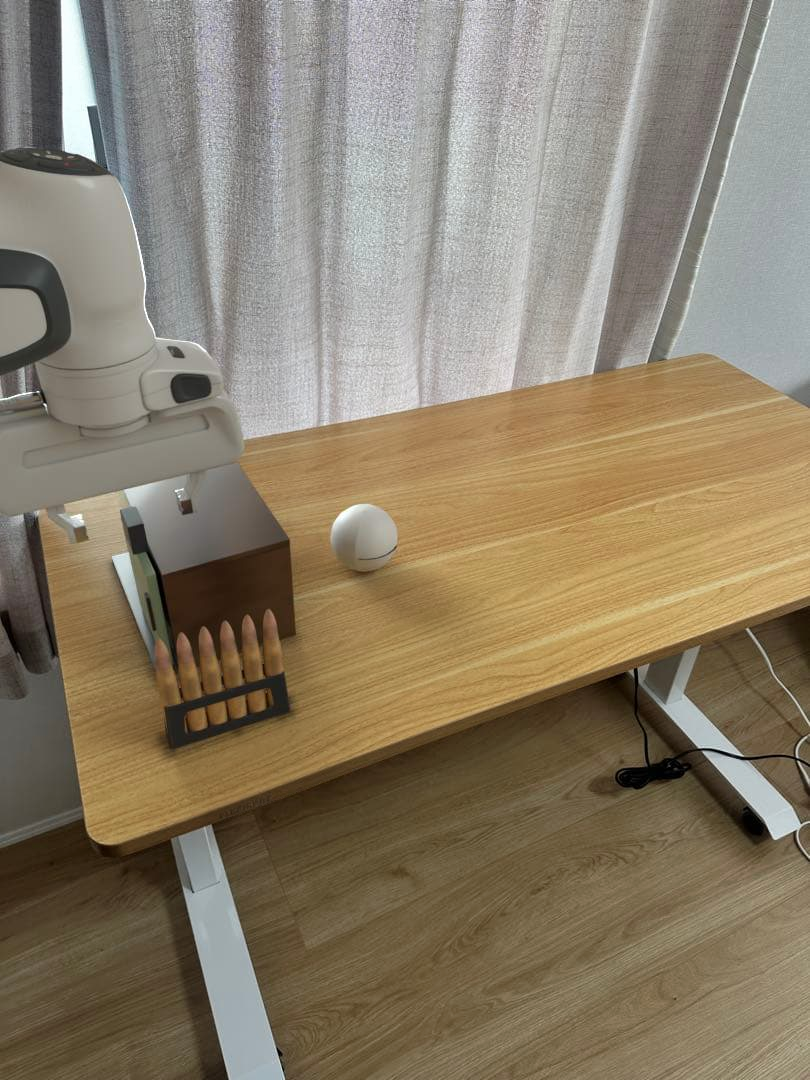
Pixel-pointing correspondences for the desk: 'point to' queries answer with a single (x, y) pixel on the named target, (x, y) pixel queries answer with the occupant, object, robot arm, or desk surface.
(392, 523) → the white sphere
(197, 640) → the cabinet
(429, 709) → the desk surface
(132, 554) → the sliding door
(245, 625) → the ammunition clip
